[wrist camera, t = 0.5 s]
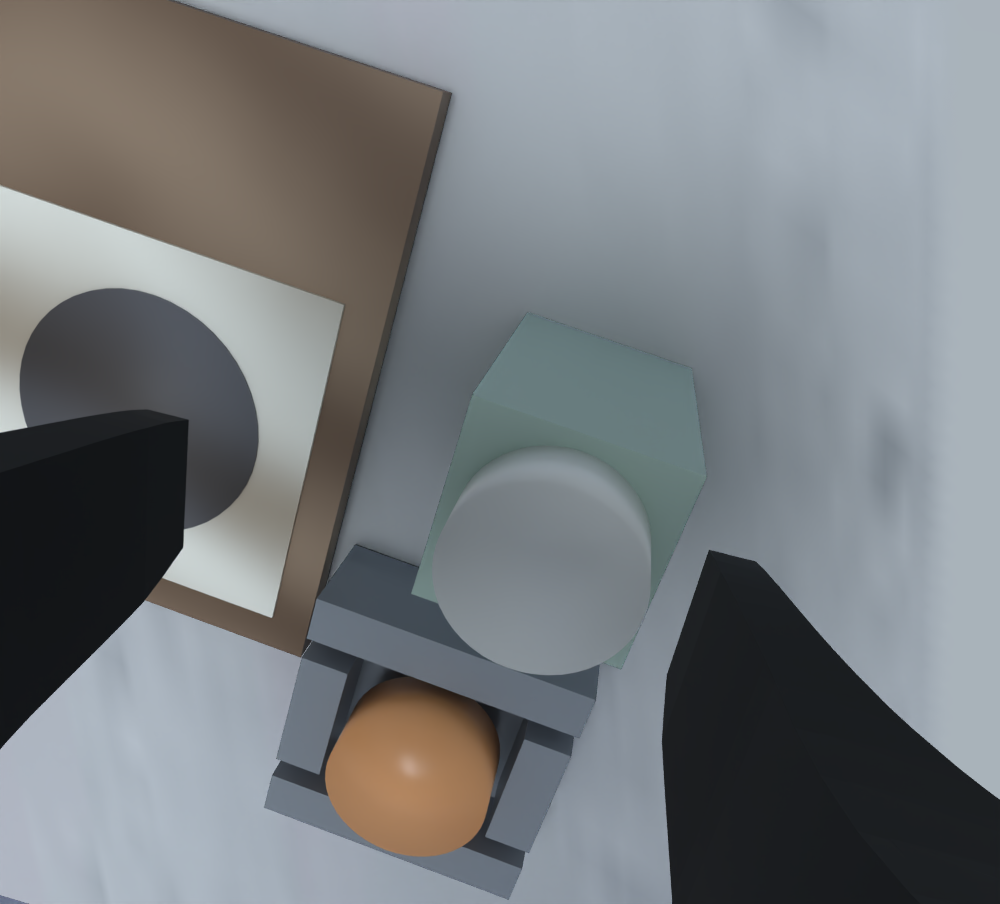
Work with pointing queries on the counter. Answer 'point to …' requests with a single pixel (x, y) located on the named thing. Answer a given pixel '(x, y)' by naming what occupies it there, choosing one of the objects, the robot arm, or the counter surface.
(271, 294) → the drawing board
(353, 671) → the button housing
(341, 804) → the button
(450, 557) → the green square bottle
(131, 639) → the counter surface
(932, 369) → the counter surface
